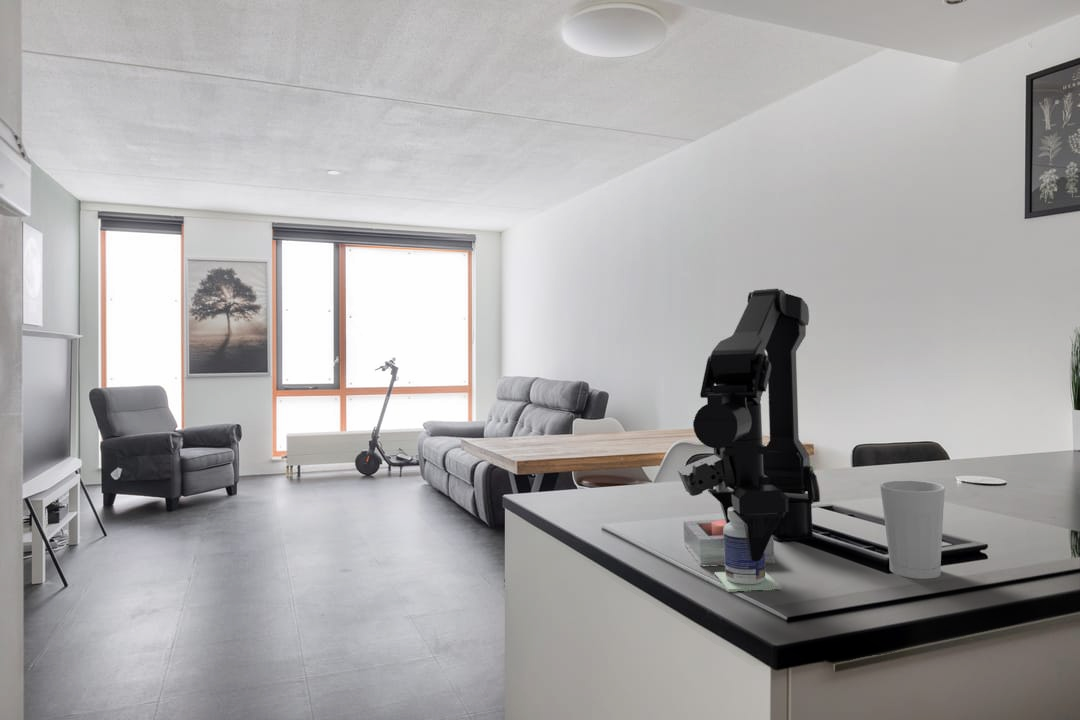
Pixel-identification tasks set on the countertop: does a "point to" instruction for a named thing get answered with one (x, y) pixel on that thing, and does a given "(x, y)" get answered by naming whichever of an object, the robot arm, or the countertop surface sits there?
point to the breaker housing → (712, 543)
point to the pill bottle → (740, 554)
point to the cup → (913, 527)
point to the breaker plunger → (718, 527)
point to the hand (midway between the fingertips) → (745, 550)
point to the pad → (734, 587)
